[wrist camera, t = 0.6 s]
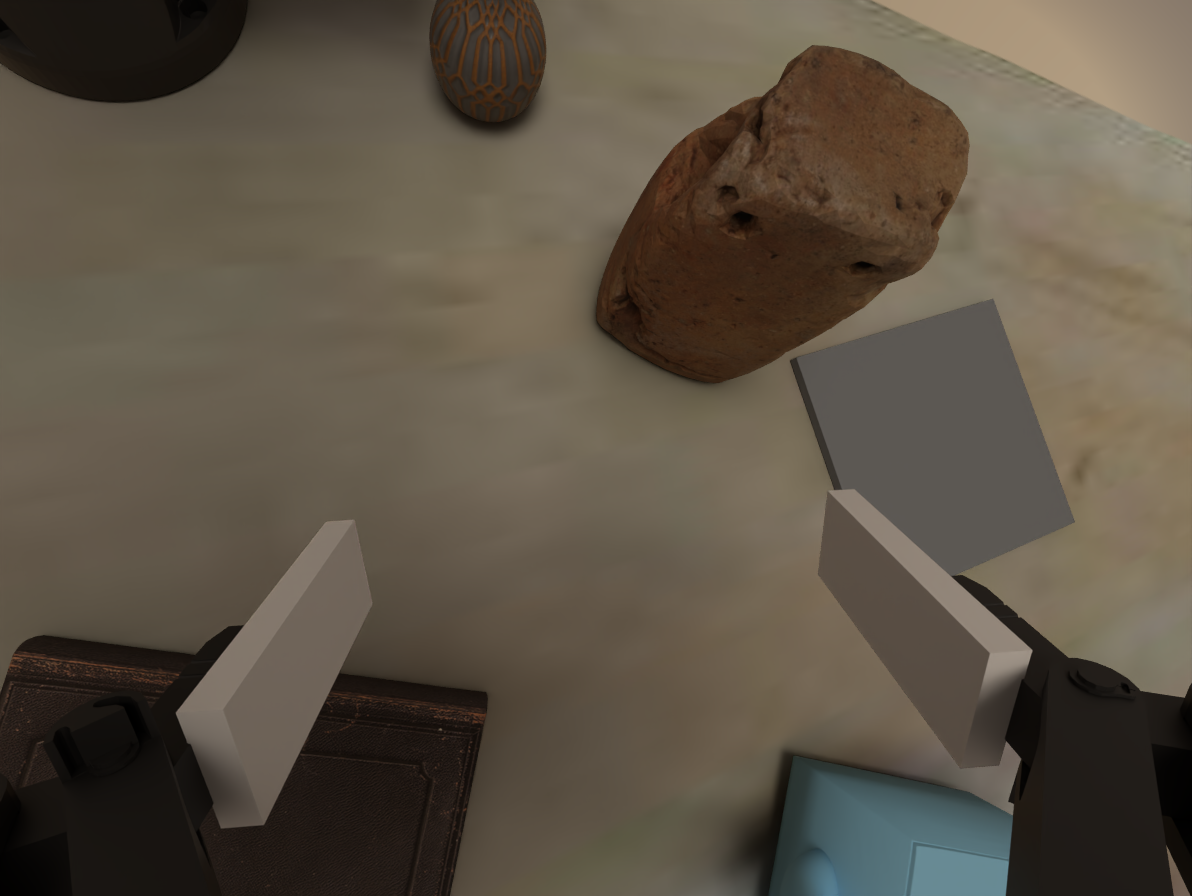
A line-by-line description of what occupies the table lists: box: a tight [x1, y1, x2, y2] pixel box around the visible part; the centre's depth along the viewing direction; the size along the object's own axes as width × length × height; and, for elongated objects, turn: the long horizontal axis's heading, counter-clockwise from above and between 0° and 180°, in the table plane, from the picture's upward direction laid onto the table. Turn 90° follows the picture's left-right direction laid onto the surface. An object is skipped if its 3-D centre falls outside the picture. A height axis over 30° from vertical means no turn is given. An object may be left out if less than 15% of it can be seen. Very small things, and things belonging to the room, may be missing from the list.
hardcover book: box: [0, 635, 488, 896], centre depth 30 cm, size 16×23×2 cm
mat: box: [790, 299, 1075, 576], centre depth 43 cm, size 18×18×1 cm
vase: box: [430, 0, 546, 122], centre depth 34 cm, size 7×7×9 cm
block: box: [596, 45, 970, 383], centre depth 30 cm, size 11×8×20 cm
